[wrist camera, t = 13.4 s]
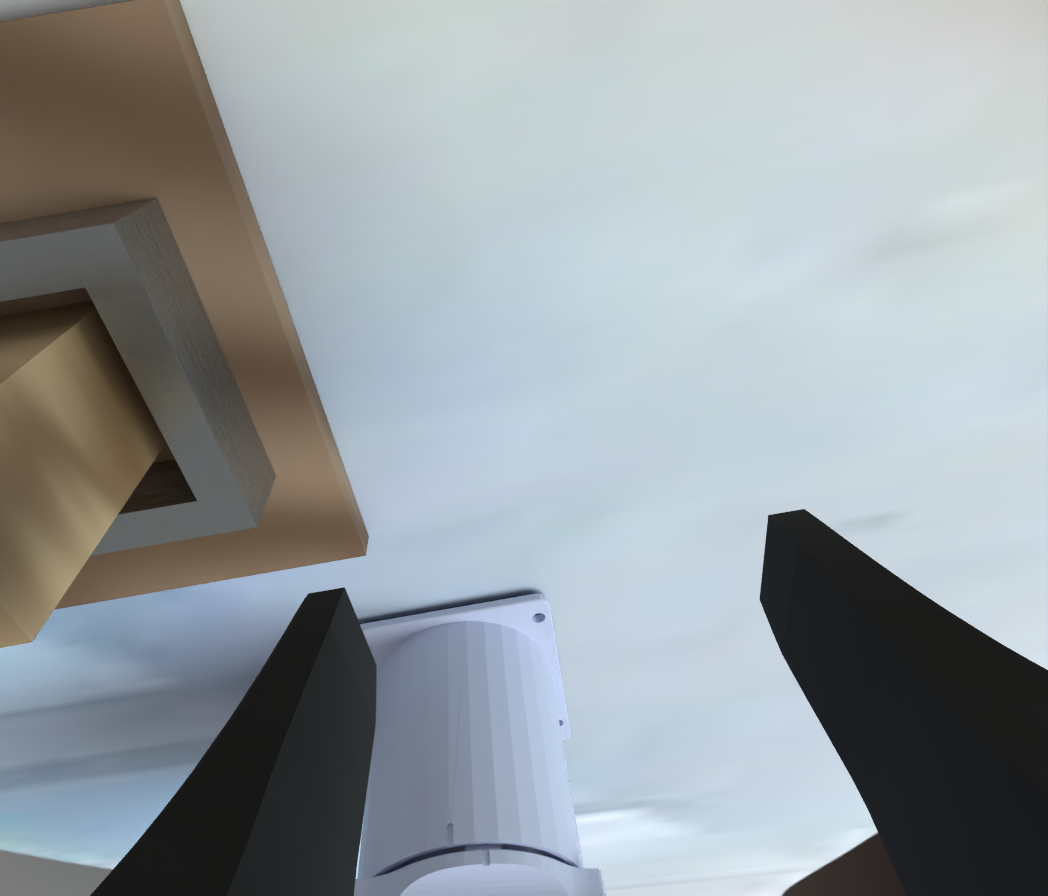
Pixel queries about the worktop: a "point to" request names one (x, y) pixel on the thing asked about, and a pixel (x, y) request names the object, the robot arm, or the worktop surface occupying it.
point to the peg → (62, 455)
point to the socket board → (166, 298)
